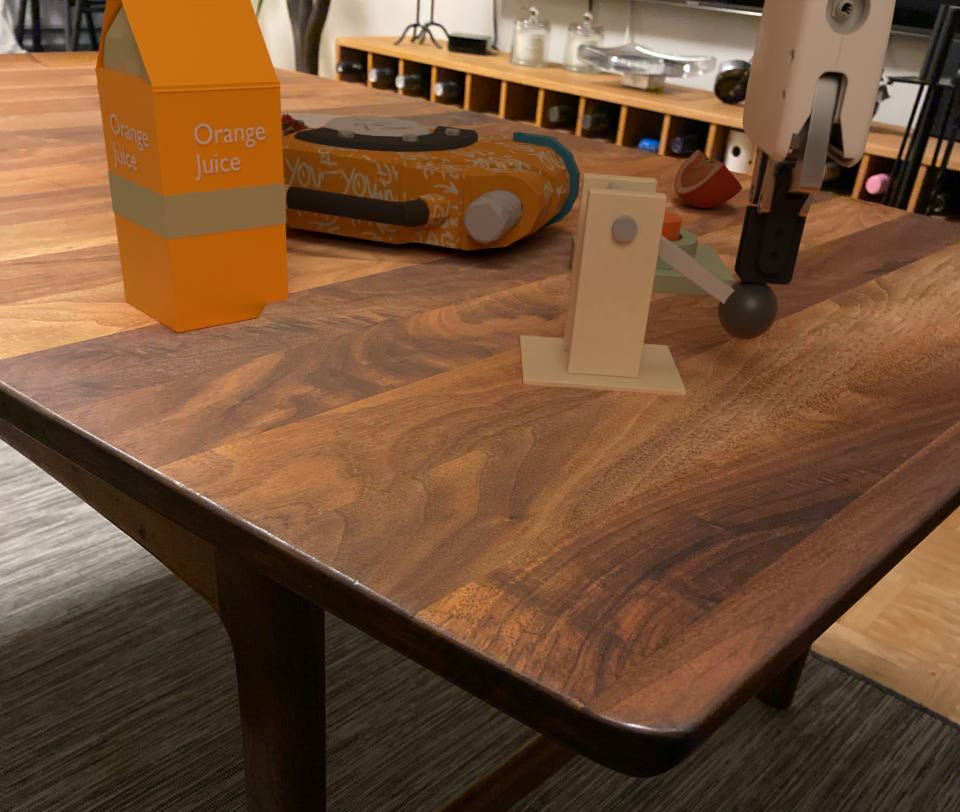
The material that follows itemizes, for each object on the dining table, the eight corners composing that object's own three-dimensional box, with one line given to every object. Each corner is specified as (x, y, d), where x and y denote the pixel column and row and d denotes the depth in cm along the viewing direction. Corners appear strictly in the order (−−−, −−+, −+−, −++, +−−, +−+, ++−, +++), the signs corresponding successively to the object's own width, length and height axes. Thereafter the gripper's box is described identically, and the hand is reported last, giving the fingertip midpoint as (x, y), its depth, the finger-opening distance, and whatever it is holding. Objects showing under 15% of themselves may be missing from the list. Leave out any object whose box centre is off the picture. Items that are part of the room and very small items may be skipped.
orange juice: (290, 311, 73) (278, -22, 62) (177, 333, 68) (140, -25, 57) (233, 282, 78) (211, -33, 66) (123, 300, 73) (78, -38, 61)
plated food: (422, 196, 104) (423, 160, 102) (140, 165, 107) (136, 129, 105) (473, 145, 128) (475, 115, 126) (243, 121, 131) (241, 91, 129)
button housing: (707, 271, 89) (716, 223, 87) (729, 308, 81) (740, 256, 79) (569, 261, 89) (575, 212, 86) (577, 297, 80) (584, 244, 78)
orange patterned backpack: (524, 181, 75) (160, 129, 81) (513, 294, 80) (171, 237, 86) (590, 134, 93) (287, 94, 99) (578, 229, 98) (290, 185, 104)
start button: (674, 233, 84) (678, 211, 83) (681, 247, 81) (685, 224, 80) (625, 230, 84) (629, 207, 83) (631, 243, 81) (634, 220, 80)
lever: (744, 338, 67) (782, 291, 65) (756, 358, 64) (796, 310, 62) (579, 222, 63) (615, 169, 61) (584, 238, 60) (622, 182, 58)
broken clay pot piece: (662, 195, 112) (670, 145, 109) (720, 198, 113) (730, 148, 110) (685, 215, 106) (694, 162, 103) (747, 217, 107) (758, 165, 104)
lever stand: (664, 362, 70) (697, 176, 63) (683, 409, 63) (721, 207, 57) (518, 352, 70) (535, 164, 63) (521, 398, 63) (541, 193, 56)
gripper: (971, -81, 46) (857, 324, 57) (870, -84, 58) (792, 250, 69) (806, -94, 46) (723, 315, 57) (739, -94, 58) (681, 242, 69)
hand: (761, 278), depth 63 cm, fingers closed
